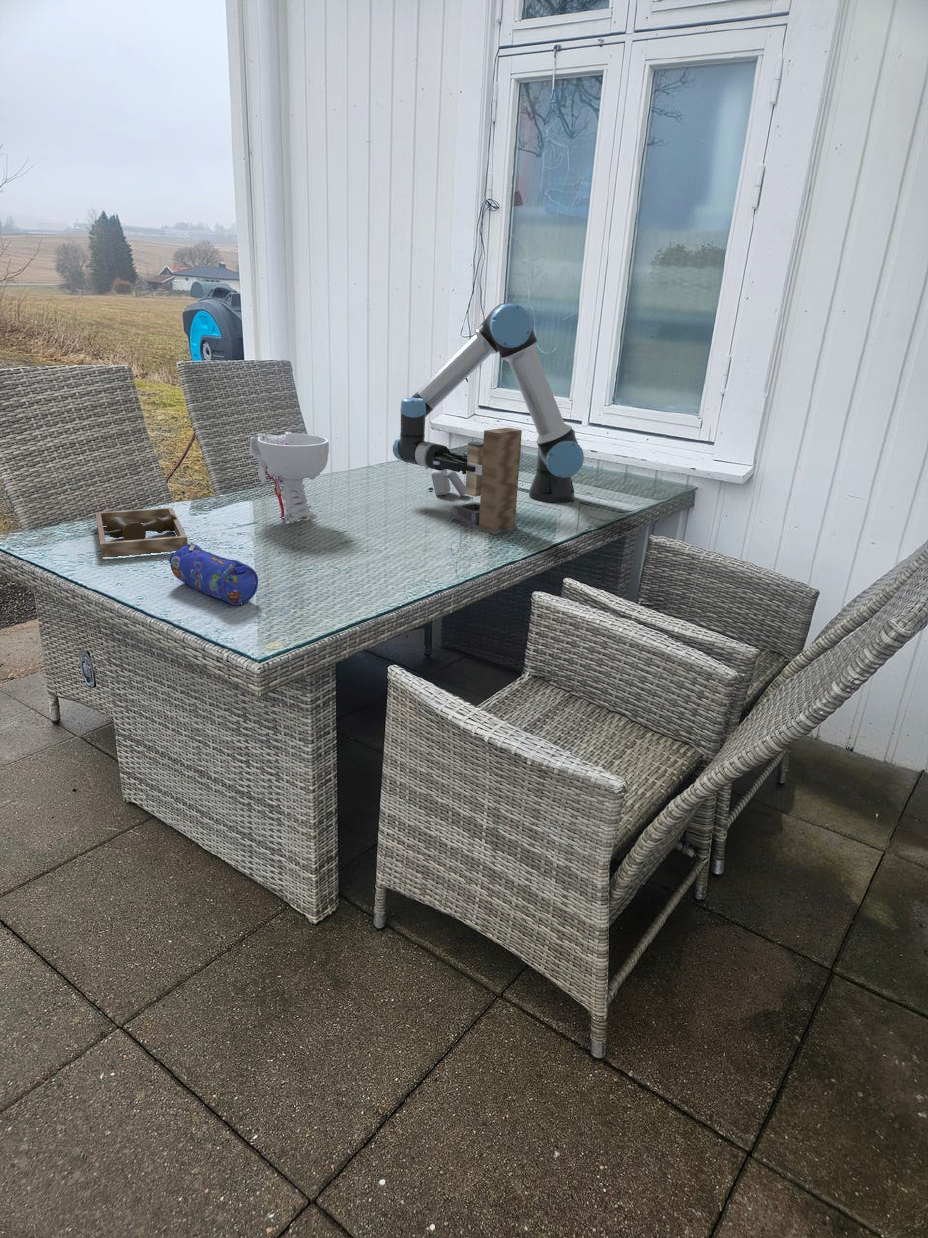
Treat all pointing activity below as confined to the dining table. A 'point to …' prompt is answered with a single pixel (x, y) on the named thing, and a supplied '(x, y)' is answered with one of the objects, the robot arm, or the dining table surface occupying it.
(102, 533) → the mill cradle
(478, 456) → the beige wooden tall block
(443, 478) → the wall hook
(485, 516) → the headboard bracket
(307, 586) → the dining table surface
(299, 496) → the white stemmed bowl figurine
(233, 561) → the pencil case
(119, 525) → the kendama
